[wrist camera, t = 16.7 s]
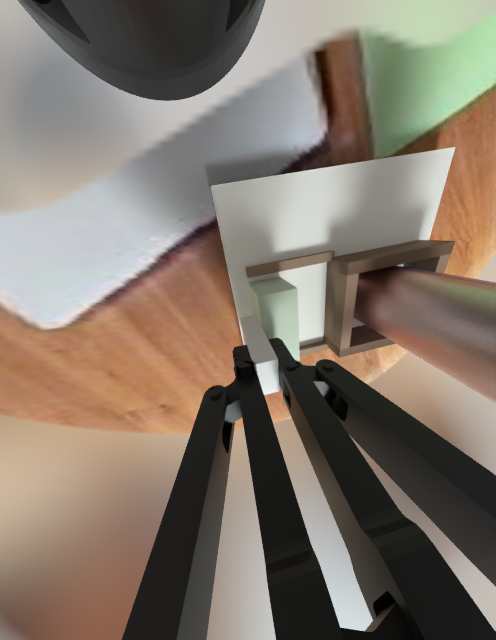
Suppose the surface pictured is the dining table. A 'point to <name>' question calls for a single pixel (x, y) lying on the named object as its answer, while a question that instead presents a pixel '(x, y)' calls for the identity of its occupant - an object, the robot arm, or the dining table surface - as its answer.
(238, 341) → the dining table surface
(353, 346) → the socket
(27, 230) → the dining table surface
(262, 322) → the block
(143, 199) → the dining table surface
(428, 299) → the beverage can
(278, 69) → the dining table surface
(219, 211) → the board
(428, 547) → the robot arm
